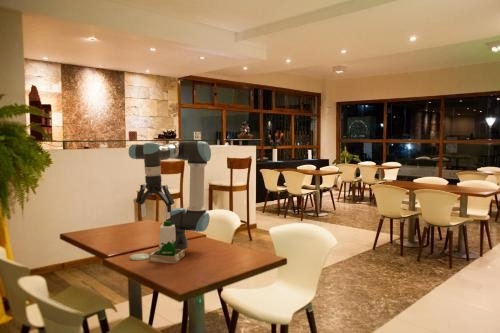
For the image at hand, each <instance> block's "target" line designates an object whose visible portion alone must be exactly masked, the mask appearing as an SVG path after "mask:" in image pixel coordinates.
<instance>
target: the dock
mask: <svg viewBox="0 0 500 333" xmlns="http://www.w3.org/2000/svg"><path fill="white" fill-rule="evenodd" d="M185 252H186V251H185V249H184V248H181V249H175V256H162V255H160V252H159V248H158V249H156V250H155V251H152V252H151V253H150V254H149V259H148V261H149V262H150V263H151V262H152V263H153V262H154V263H164V264H176V263H178V262H179V261H180V260H182V258H183V257H185Z"/></svg>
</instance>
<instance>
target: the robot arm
mask: <svg viewBox="0 0 500 333" xmlns="http://www.w3.org/2000/svg"><path fill="white" fill-rule="evenodd" d="M128 156H129V158H130V159H132V160H143V162H144V174H145V176H144V178H145V179H144V180H145V183H142V184H140V187H139V191H138V194H137V197H136V199H135V203H136V204H138V205H139V210H140V211H141V212H140V213H141V218H145V217H147V207H146V203H145V201H146V200H147V199H148V197H149V196H150V195H157V196H159V198H160V199H161V200H162V202H163V203H164V204H165V206H164V207H165V208H164V210H165V212H164V213H165V221H171V225H175V230H176V232H175V233H176V248H175V249H184V248H187V247H188V246H189V241H188V238H187V235H186V234H187V233H186V231H189V232H196V233H198V232H204V231H206V230H207V228H208V226H209V224H210V218H211V217H210V214H209V212H207V209H206V207H205V206H204V204H205V198H204V197H205V168H206V166H207V165H208V162H209V161H210V160H211V158H212V150H211V146H210V145H209V143H208V142H206V141H203V140H202V141H201V140H198V141H197V140H196V141H195V140H193V141H192V140H182V141H180V140H179V141H174V142H167V144H165V143H164V144H163V143H161V144H160V143H159V142H145V143H143V144H137V143H136V144H135V143H134V144H131V145H129V148H128ZM169 159H170V160H171V159H172V160H174V159H175V160H180V161H187V164H188V166H189V195H188V196H189V197H188V198H189V200H188V201H189V203H188V204H189V205H188V206H187V208H185V207H178V208H172V205H175V199H174V198H173V196H172V195H171V192H170V190H169V186H168V184H165V185H162V175H161V174H162V166H161V161H164V160H166V161H168V160H169ZM145 190H146V191H145Z"/></svg>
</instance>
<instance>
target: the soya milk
mask: <svg viewBox="0 0 500 333" xmlns="http://www.w3.org/2000/svg"><path fill="white" fill-rule="evenodd" d="M175 232H176V230H175V225H171V221H166V220H165V221H163V224H160V227H159V232H158V233H159V234H158V235H159V236H158V237H159V238H158V239H159V240H158V242H159V244H158V247H159V248H158V249H159V252H160V255H162V256H175V248H176V233H175Z"/></svg>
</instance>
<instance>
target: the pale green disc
mask: <svg viewBox="0 0 500 333" xmlns="http://www.w3.org/2000/svg"><path fill="white" fill-rule="evenodd" d="M149 255H150V254H149V253H134V254H132V255H130V256H129V259H130V261H131V260H132V261H136V262H137V261H138V262H139V261H146V260H149Z"/></svg>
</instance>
